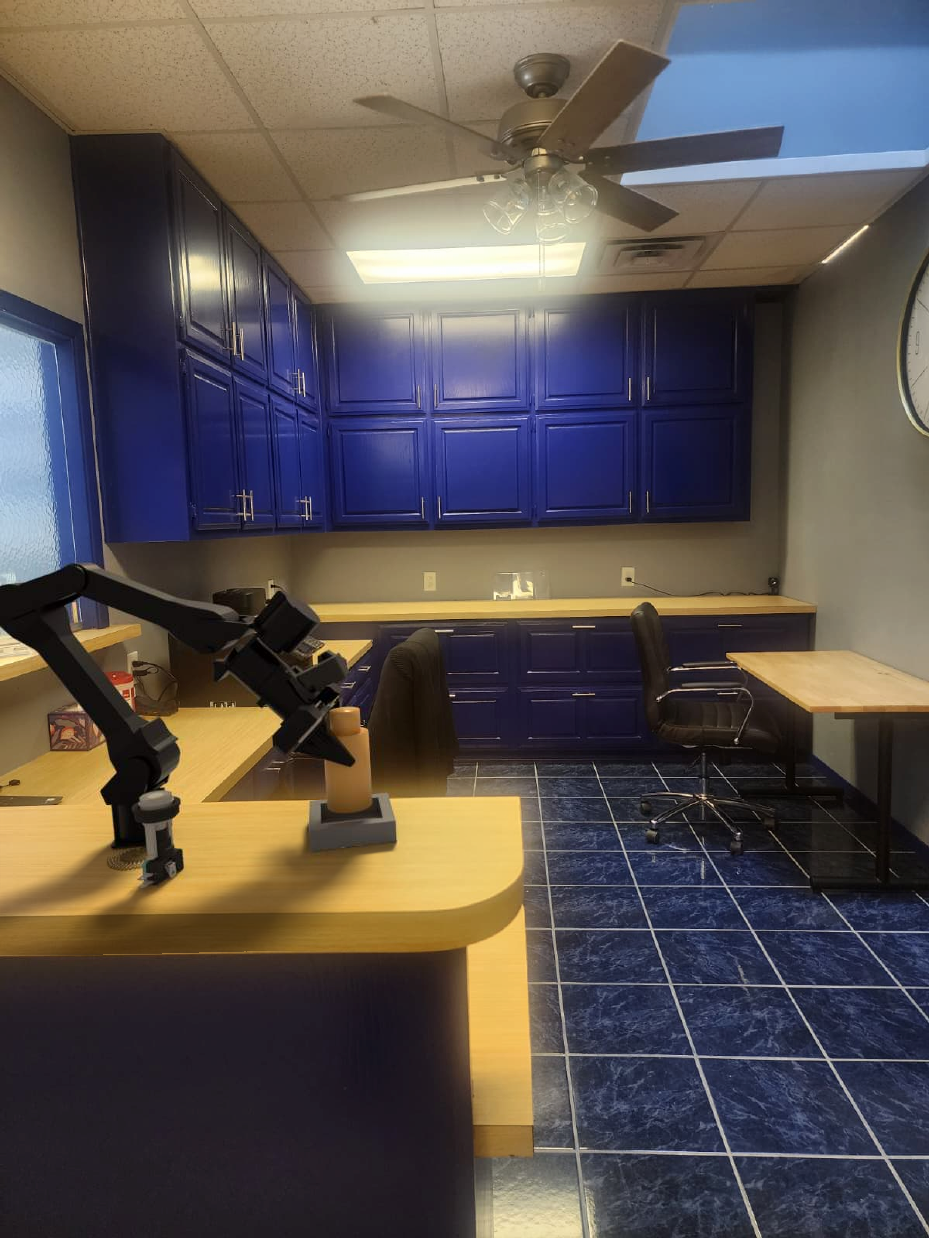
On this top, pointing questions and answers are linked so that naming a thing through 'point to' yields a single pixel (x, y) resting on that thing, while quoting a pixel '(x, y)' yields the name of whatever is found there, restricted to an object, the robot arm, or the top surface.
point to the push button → (159, 836)
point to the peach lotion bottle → (342, 782)
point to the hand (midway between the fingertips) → (357, 756)
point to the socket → (351, 825)
